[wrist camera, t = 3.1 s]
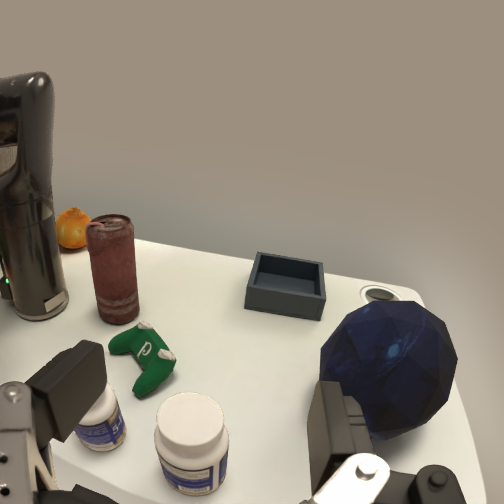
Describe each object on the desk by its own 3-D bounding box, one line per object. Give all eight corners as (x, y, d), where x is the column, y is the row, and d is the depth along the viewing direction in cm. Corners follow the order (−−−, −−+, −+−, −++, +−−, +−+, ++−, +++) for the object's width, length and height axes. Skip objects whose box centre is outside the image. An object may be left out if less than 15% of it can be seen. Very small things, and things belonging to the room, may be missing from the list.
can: (93, 306, 43) (80, 217, 37) (131, 296, 47) (125, 209, 40) (103, 330, 39) (88, 235, 33) (145, 319, 43) (139, 225, 36)
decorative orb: (304, 454, 22) (465, 342, 18) (277, 336, 35) (381, 245, 31) (381, 472, 27) (494, 393, 23) (346, 380, 40) (432, 311, 36)
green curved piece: (157, 403, 32) (188, 366, 33) (133, 398, 29) (165, 358, 30) (125, 354, 38) (151, 320, 39) (103, 345, 35) (130, 309, 36)
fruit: (63, 246, 51) (81, 207, 53) (41, 235, 53) (58, 198, 55) (89, 259, 59) (105, 223, 60) (66, 247, 61) (81, 214, 63)
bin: (244, 308, 48) (246, 286, 46) (254, 271, 58) (257, 251, 56) (320, 321, 47) (326, 299, 45) (317, 281, 57) (322, 262, 56)
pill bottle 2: (194, 436, 27) (192, 374, 23) (238, 471, 24) (249, 417, 20) (150, 467, 23) (132, 411, 19) (194, 508, 20) (189, 467, 16)
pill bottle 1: (130, 450, 25) (113, 404, 20) (80, 453, 22) (49, 407, 18) (122, 407, 29) (107, 353, 24) (76, 410, 27) (51, 356, 22)
